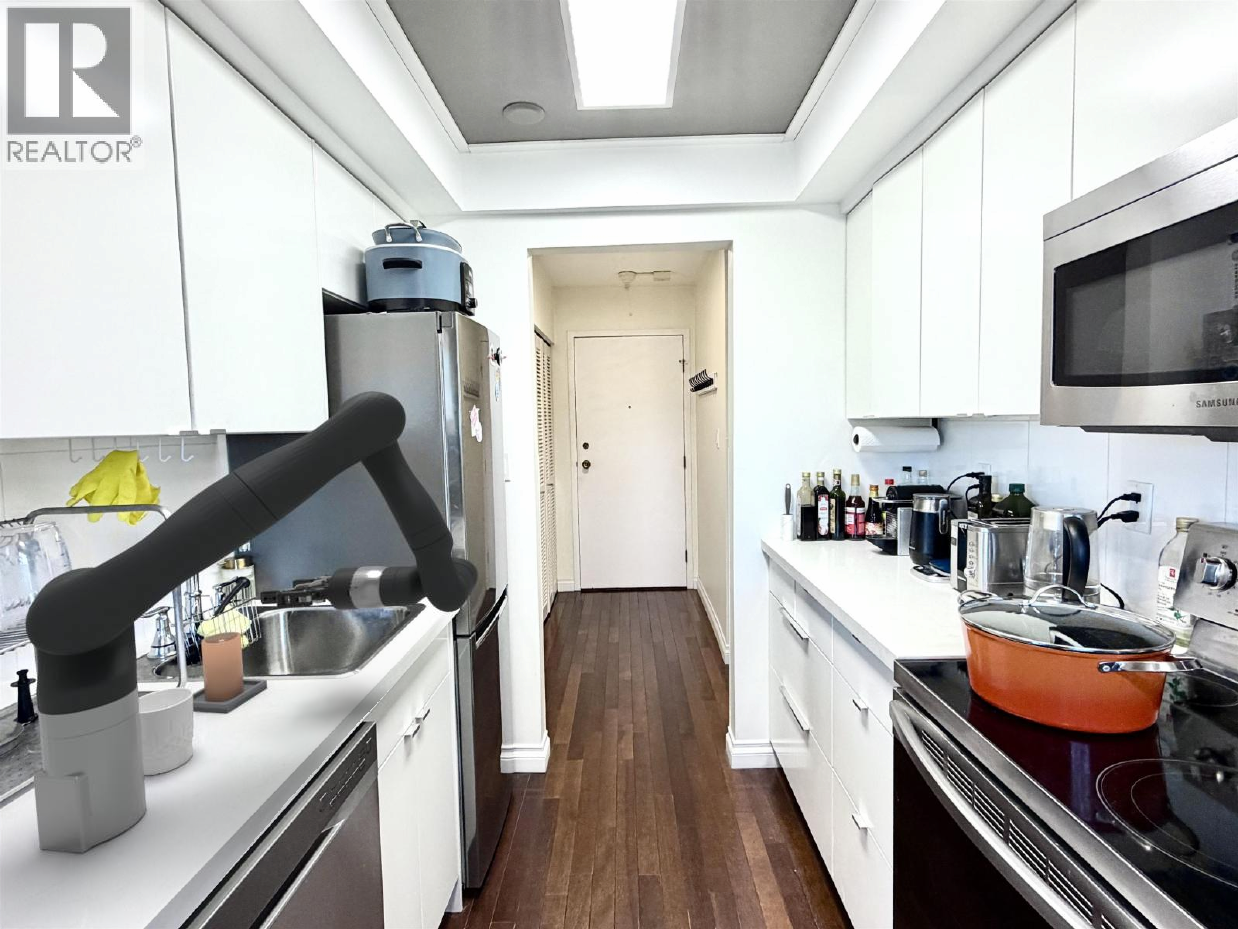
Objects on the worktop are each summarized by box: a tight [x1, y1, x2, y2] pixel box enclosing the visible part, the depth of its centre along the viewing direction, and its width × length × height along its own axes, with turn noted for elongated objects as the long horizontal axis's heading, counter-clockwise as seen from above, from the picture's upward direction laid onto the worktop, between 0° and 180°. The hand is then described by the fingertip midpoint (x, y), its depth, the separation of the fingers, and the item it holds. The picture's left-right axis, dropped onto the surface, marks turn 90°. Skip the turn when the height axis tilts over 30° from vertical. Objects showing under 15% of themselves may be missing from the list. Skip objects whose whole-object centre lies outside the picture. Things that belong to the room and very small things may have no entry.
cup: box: [201, 631, 244, 702], centre depth 105 cm, size 6×6×11 cm
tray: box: [193, 678, 268, 714], centre depth 105 cm, size 10×10×2 cm
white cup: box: [138, 687, 195, 776], centre depth 85 cm, size 8×8×10 cm
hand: (278, 591), depth 102 cm, fingers open, 8 cm apart
